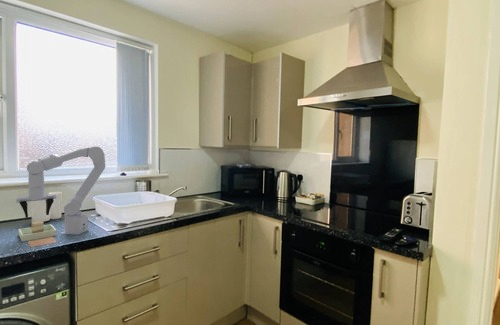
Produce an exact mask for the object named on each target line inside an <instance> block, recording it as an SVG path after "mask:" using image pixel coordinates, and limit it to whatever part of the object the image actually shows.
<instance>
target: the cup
mask: <svg viewBox="0 0 500 325" xmlns="http://www.w3.org/2000/svg"><path fill="white" fill-rule="evenodd" d="M33 200H36V199H33ZM30 215H31V222H37V221H43V223H44V222H47V221H50V219H51V218H50V211H49V215H46V200H39V201H30Z"/></svg>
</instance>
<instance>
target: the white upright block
mask: <svg viewBox="0 0 500 325" xmlns="http://www.w3.org/2000/svg"><path fill="white" fill-rule="evenodd" d="M47 195H56V199H53V200H54V202H53V204H52V205H51V208H50V219H51V220H59V219H61V218H62V212H63V209H62V208H63V197H64V196H63V192H62V191H50V192H48V193H47Z"/></svg>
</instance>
